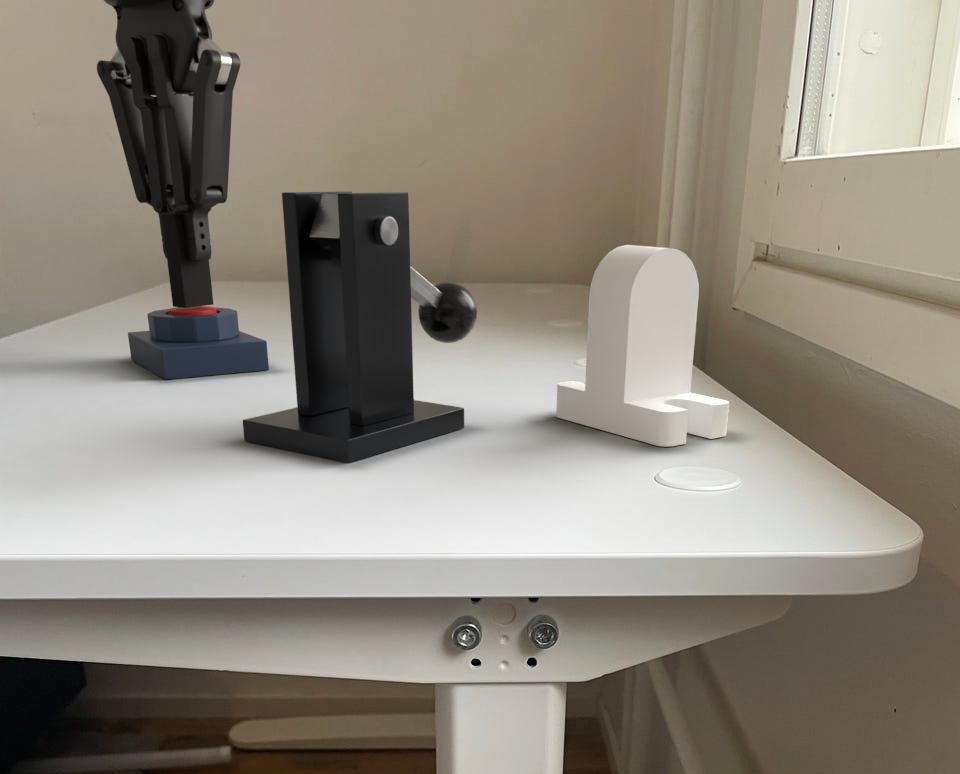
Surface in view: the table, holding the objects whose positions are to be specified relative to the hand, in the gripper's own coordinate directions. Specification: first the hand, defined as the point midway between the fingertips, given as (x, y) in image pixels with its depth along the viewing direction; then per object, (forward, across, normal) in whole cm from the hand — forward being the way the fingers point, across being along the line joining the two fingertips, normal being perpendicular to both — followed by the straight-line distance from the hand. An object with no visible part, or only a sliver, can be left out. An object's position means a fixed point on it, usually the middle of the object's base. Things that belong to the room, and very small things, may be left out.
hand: (193, 305), depth 78 cm
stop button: (+2, 0, 0) cm, 2 cm away
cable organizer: (+5, -38, -2) cm, 38 cm away
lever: (-2, -26, +6) cm, 27 cm away
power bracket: (+5, -26, +10) cm, 28 cm away
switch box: (+5, 0, 0) cm, 5 cm away
